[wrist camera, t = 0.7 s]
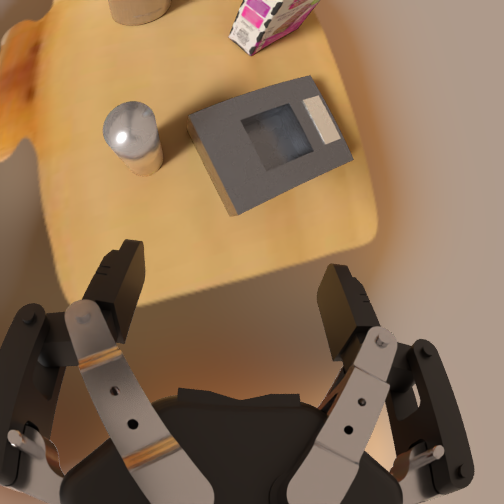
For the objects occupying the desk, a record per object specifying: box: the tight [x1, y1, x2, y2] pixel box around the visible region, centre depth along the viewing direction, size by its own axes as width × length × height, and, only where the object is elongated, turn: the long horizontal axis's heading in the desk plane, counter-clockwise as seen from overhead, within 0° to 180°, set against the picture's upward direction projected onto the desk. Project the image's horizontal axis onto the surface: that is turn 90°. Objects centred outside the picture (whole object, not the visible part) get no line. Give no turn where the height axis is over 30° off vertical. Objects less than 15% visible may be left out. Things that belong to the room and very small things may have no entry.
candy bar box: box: [229, 0, 320, 56], centre depth 25 cm, size 11×5×16 cm, turn 136°
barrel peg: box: [103, 101, 163, 176], centre depth 25 cm, size 4×4×12 cm
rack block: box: [187, 76, 354, 216], centre depth 32 cm, size 12×16×5 cm
